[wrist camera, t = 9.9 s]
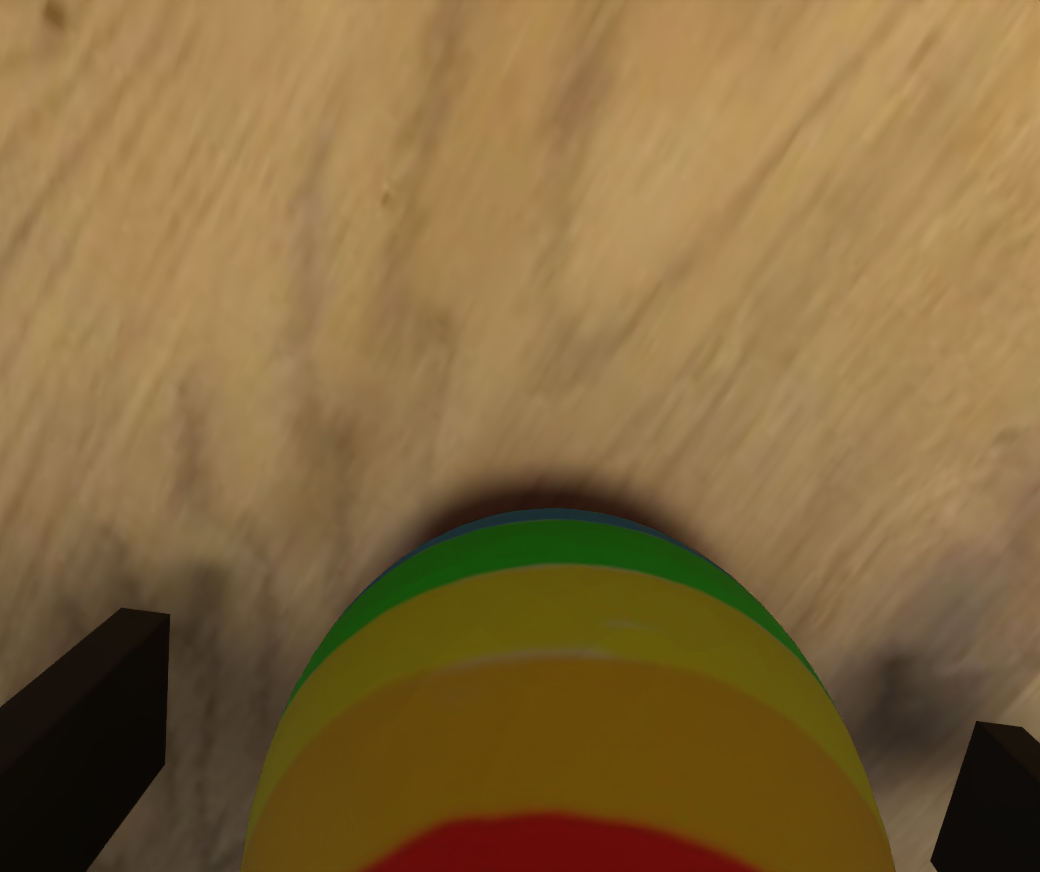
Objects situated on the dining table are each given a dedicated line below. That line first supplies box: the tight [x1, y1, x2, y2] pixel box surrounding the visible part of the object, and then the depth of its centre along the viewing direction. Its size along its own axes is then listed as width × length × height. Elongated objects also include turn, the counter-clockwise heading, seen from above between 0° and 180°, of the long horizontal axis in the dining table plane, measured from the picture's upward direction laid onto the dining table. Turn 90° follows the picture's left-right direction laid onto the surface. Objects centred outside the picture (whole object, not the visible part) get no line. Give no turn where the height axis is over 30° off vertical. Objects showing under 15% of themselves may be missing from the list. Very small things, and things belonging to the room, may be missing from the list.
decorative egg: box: [240, 508, 896, 872], centre depth 9 cm, size 8×8×10 cm
